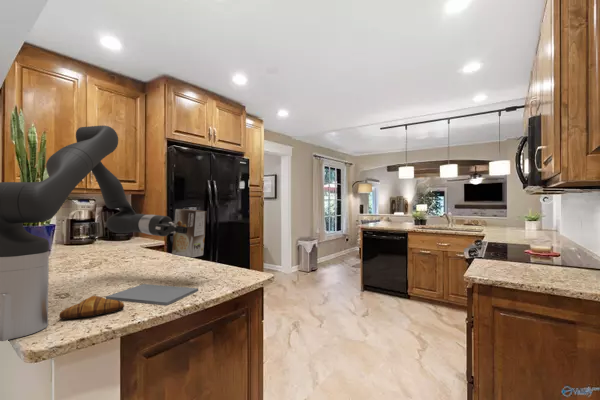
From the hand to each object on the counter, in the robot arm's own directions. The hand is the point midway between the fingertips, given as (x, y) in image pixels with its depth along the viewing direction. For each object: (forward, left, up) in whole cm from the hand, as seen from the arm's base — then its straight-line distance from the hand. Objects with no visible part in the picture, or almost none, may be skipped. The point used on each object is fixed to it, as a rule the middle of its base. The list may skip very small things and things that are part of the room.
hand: (193, 229), depth 100 cm
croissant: (-30, +7, -20) cm, 37 cm away
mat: (-13, +5, -19) cm, 24 cm away
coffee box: (0, +2, -9) cm, 9 cm away
